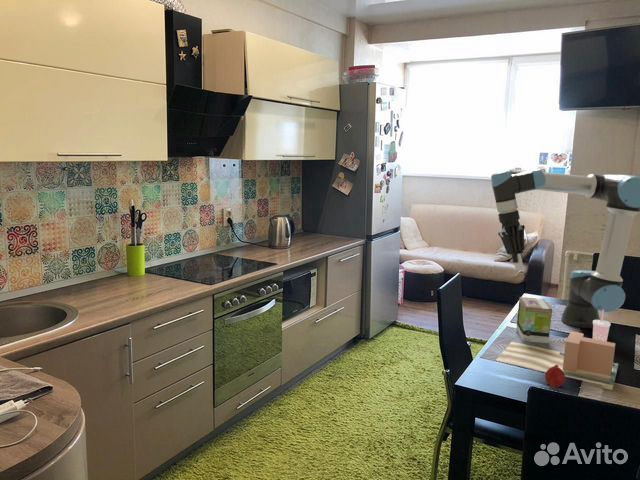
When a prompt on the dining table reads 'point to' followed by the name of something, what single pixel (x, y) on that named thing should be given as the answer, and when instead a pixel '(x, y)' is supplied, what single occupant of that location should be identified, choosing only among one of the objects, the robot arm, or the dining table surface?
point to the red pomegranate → (555, 377)
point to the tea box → (534, 320)
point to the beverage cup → (601, 329)
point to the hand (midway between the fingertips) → (519, 269)
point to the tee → (588, 354)
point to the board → (551, 363)
